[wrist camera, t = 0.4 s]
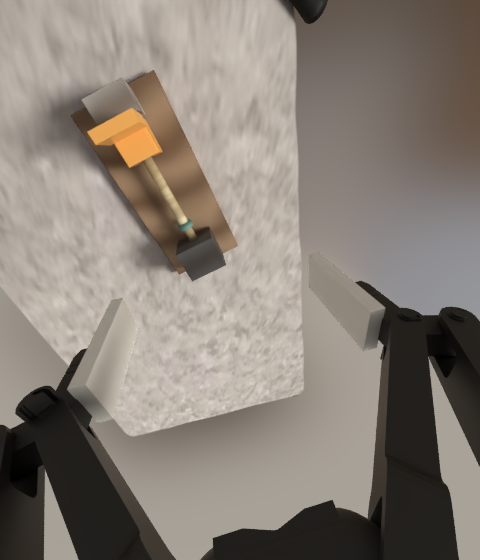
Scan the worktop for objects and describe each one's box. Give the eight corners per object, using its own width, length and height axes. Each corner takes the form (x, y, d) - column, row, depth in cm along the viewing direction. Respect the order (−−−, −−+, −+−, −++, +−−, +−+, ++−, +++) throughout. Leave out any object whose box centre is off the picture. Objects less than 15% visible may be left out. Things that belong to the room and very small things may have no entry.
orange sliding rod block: (114, 136, 31) (86, 131, 23) (147, 118, 31) (131, 107, 22) (133, 166, 33) (114, 172, 25) (164, 150, 33) (155, 151, 24)
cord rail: (75, 116, 31) (44, 108, 24) (155, 73, 30) (145, 52, 24) (179, 270, 44) (177, 291, 38) (236, 242, 43) (244, 259, 37)
